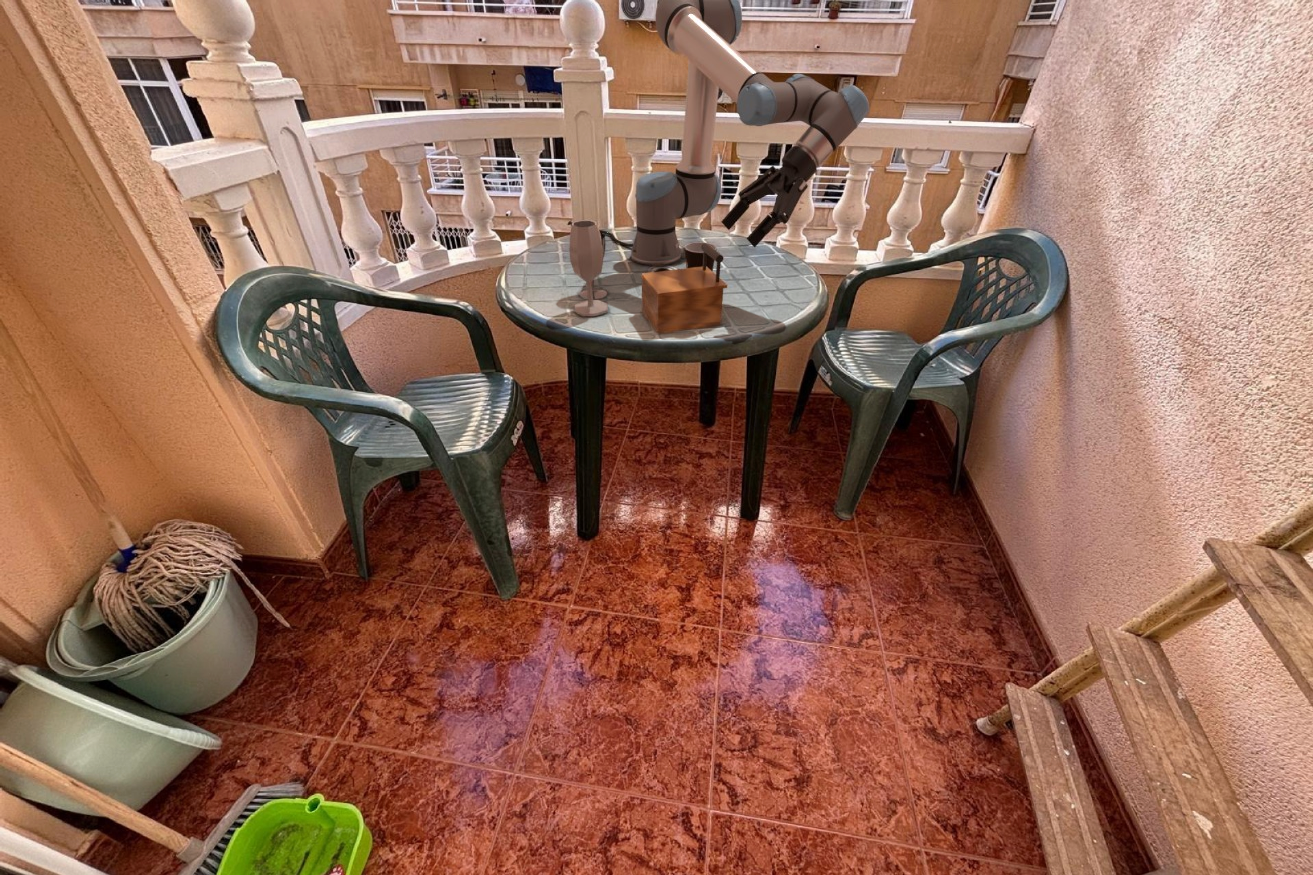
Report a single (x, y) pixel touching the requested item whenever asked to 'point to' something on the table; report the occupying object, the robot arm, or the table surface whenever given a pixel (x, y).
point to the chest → (682, 309)
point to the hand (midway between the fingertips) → (737, 234)
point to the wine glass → (596, 292)
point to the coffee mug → (697, 255)
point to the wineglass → (587, 262)
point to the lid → (687, 277)
